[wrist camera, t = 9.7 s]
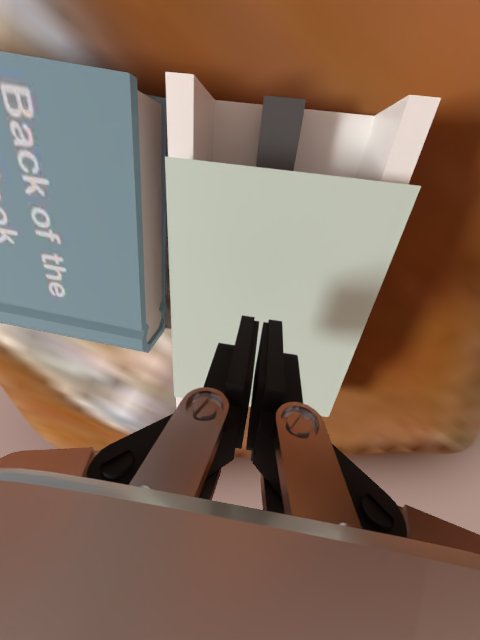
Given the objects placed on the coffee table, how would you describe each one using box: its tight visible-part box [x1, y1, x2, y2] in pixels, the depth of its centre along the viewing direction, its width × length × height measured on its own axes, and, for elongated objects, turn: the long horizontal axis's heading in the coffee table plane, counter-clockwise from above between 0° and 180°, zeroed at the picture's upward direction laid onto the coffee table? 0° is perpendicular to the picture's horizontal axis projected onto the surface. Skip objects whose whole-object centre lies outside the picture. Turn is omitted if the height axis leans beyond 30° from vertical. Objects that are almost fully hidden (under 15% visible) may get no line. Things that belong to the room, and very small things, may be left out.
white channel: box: [165, 72, 441, 407], centre depth 17 cm, size 20×11×5 cm, turn 174°
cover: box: [165, 156, 421, 417], centre depth 15 cm, size 14×11×1 cm
